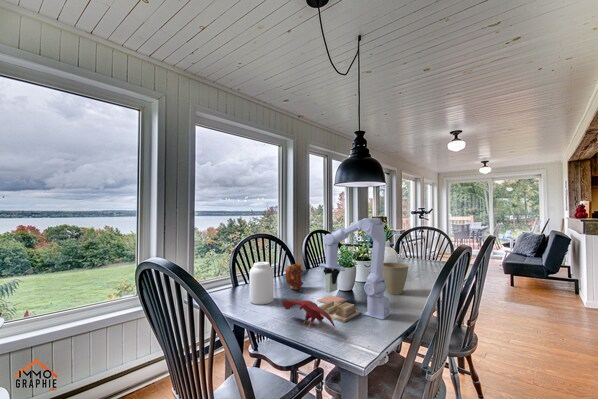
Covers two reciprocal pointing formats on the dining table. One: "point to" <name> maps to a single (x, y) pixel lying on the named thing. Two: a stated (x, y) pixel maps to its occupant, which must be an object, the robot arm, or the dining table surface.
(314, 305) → the red animal figurine
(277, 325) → the dining table surface
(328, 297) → the mat
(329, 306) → the wooden blocks on board
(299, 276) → the orange-brown rough oval lump
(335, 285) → the pale green block
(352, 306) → the offcut pile
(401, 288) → the plant pot
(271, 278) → the white jar
